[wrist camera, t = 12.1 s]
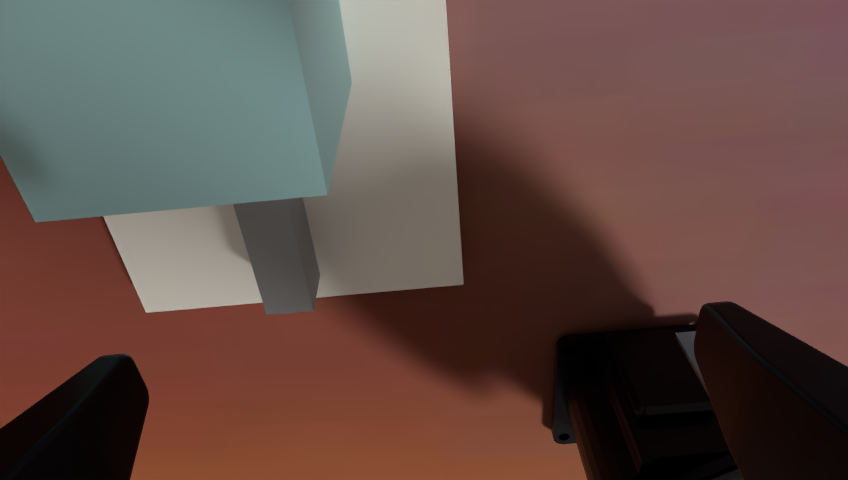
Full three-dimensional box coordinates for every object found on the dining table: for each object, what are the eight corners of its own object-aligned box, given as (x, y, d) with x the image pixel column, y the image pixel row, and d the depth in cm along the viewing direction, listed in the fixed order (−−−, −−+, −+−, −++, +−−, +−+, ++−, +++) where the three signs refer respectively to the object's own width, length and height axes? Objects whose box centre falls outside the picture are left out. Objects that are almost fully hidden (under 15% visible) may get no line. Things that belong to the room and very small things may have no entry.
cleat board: (461, 268, 23) (471, 339, 20) (155, 296, 23) (113, 370, 20) (419, -388, 13) (425, -470, 10) (-111, -329, 13) (-281, -388, 10)
